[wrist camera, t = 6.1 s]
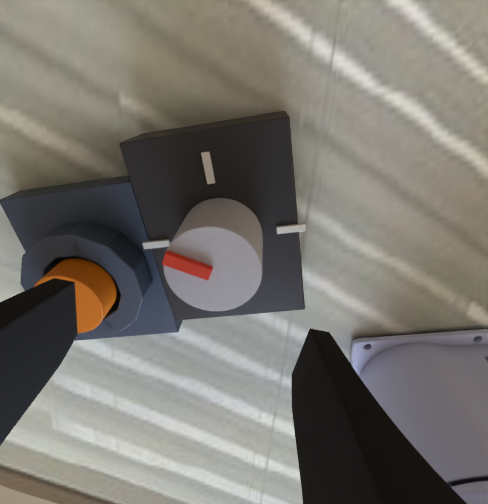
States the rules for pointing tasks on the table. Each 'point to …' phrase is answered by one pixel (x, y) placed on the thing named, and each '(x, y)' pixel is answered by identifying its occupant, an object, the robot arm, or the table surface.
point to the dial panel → (223, 186)
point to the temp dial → (216, 256)
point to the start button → (86, 290)
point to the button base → (95, 248)
